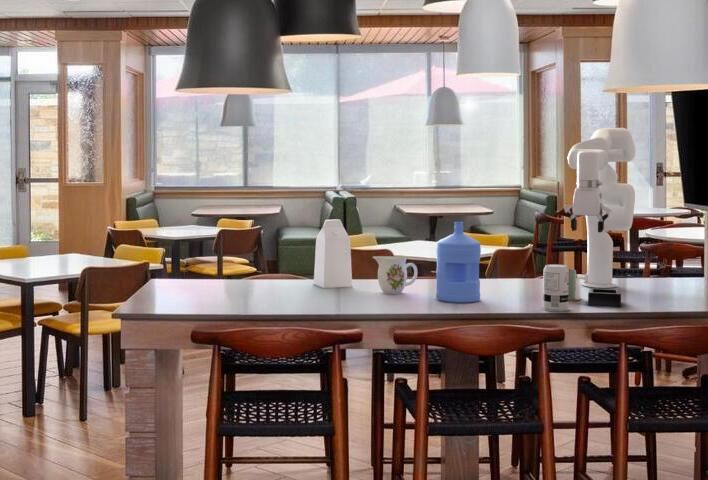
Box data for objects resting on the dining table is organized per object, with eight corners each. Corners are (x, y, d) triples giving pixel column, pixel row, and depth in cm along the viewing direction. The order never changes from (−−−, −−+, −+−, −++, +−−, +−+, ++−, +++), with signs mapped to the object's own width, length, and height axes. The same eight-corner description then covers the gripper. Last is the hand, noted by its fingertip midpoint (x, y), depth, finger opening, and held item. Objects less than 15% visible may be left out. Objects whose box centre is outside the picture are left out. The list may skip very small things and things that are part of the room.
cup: (554, 298, 351) (555, 270, 350) (560, 295, 356) (561, 268, 355) (571, 299, 347) (572, 271, 346) (577, 297, 352) (578, 269, 352)
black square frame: (587, 305, 336) (588, 292, 336) (588, 301, 347) (588, 288, 346) (620, 307, 333) (621, 294, 333) (620, 302, 343) (620, 289, 343)
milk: (341, 282, 391) (341, 218, 390) (352, 286, 380) (352, 220, 379) (313, 284, 388) (313, 219, 386) (323, 288, 377) (323, 221, 375)
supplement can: (539, 307, 332) (540, 264, 331) (563, 307, 333) (563, 263, 332) (547, 311, 324) (548, 267, 323) (571, 311, 325) (572, 267, 324)
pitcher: (422, 293, 363) (422, 257, 362) (376, 295, 358) (376, 258, 358) (412, 289, 373) (412, 254, 372) (367, 291, 369) (367, 255, 368)
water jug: (427, 298, 353) (428, 221, 351) (464, 295, 359) (465, 219, 357) (451, 304, 339) (451, 224, 337) (488, 301, 345) (489, 223, 343)
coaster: (548, 299, 350) (548, 298, 350) (557, 295, 359) (557, 294, 359) (575, 301, 345) (575, 300, 345) (584, 298, 353) (584, 297, 353)
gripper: (614, 184, 352) (614, 231, 353) (568, 183, 362) (567, 228, 363) (608, 186, 346) (607, 233, 347) (560, 184, 356) (560, 231, 357)
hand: (587, 231), depth 355 cm, fingers open, 9 cm apart
